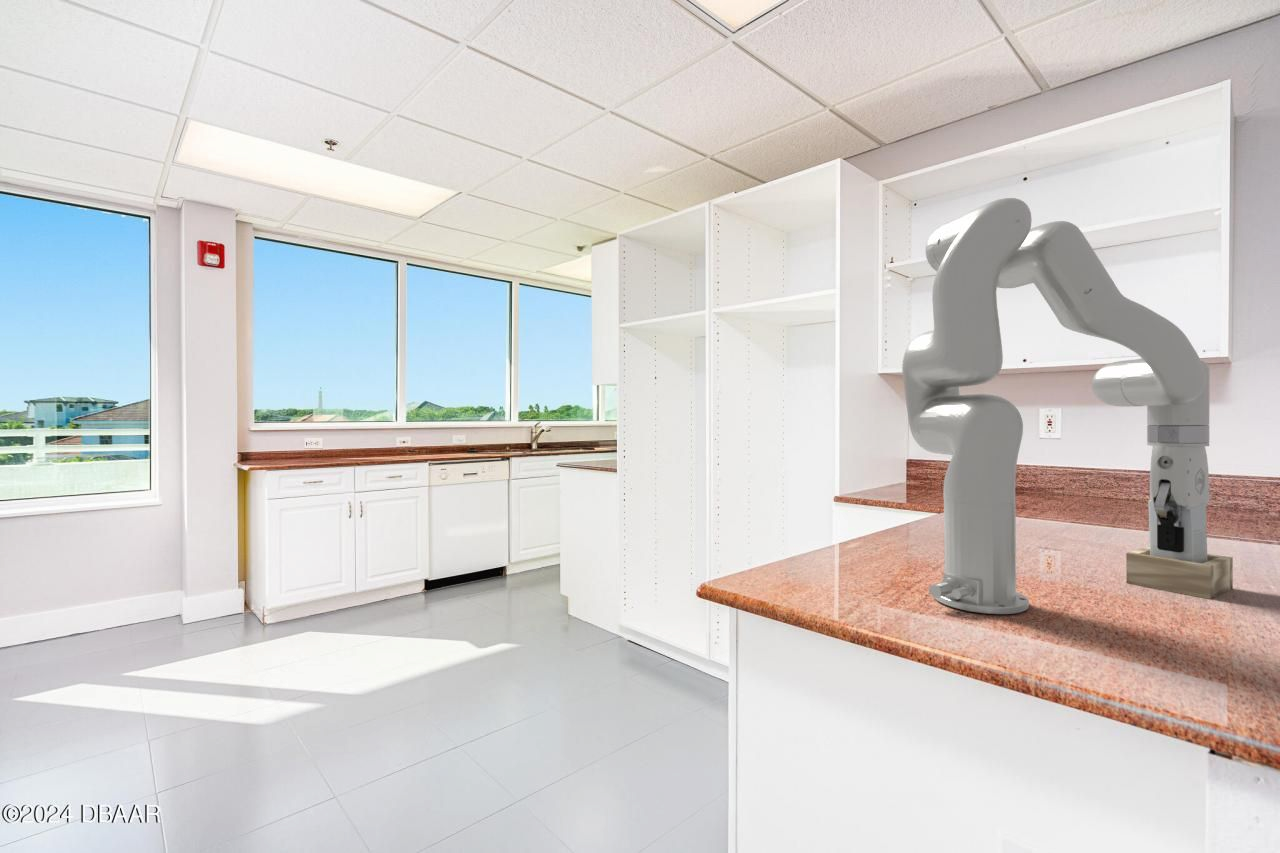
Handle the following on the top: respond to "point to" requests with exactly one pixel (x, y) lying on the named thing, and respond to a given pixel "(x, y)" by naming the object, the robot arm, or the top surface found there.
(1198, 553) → the skincare box
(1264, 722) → the top surface
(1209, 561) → the well block
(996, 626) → the top surface
